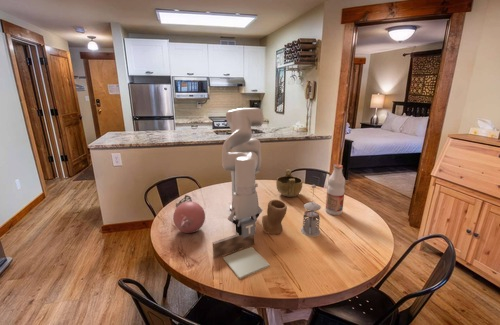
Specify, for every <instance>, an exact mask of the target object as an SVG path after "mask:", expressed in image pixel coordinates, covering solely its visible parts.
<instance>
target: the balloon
mask: <svg viewBox="0 0 500 325" xmlns="http://www.w3.org/2000/svg"><path fill="white" fill-rule="evenodd" d="M172 215H173V216H172V217H173V218H172V220H173V223H174V226H175V227H176V229H177V230H178V231H180V232H183V233H185V234H191V233H195V232H197V231H199V230H200V229H201V228H202V227H203V225H204V224H205V220H206V213H205V210H204V208H203V207H202V206H201V204H200V203H197V202H196V201H193V200H192V201H188V202H184V203H182V204H180V205H179V206H178V207H175V210H174V211H173V214H172Z"/></svg>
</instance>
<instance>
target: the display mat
mask: <svg viewBox="0 0 500 325" xmlns="http://www.w3.org/2000/svg"><path fill="white" fill-rule="evenodd" d="M222 260H224V261H225V263H226V264H227V265H228V267H229V268H230V269H231V271H232V272H233V273H234V274H235V276H236V277H237V278H238V279H239V280H242V279H243V278H247V277H248V276H250V275H253V274H256V273H258V272H259V271H263V270H265V269H267V268H269V267H270V265H271V264H270V263H269V262H268V261H267V260H266V259H265V258H264V257H263V256H262V255H261V254H260V253H259V252H257V251H256V250H255V249H254V248H253V247H252V246H249V247H246V248H245V249H244V248H243V249H241V250H239V251H237V252H236V251H235V252H233V253H232V254H231V253H230V254H229V255H228V254H227V255H226V256H225V255H224V256H223V259H222Z"/></svg>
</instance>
